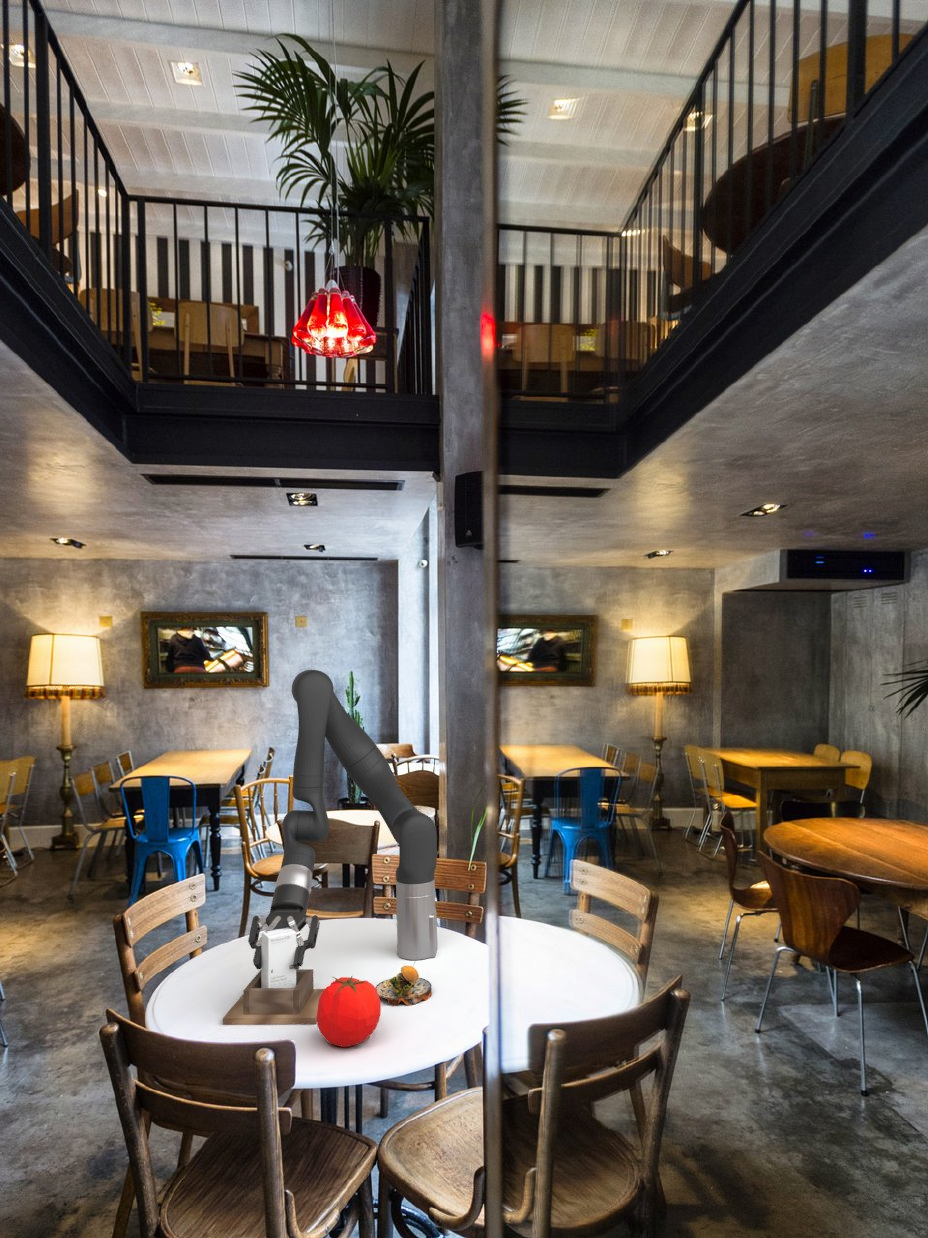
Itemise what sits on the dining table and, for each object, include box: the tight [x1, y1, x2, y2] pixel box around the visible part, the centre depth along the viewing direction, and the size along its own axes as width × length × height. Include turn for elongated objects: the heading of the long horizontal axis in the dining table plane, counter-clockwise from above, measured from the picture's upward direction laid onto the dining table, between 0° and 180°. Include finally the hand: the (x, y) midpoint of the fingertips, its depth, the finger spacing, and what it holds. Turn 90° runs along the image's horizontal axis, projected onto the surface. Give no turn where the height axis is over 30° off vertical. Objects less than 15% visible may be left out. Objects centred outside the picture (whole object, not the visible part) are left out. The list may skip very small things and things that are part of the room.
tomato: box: [316, 975, 382, 1048], centre depth 141 cm, size 12×12×11 cm
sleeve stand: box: [222, 968, 325, 1026], centre depth 156 cm, size 18×14×6 cm
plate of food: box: [375, 960, 433, 1007], centre depth 162 cm, size 12×12×8 cm
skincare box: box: [260, 928, 297, 988], centre depth 157 cm, size 6×4×12 cm
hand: (276, 967), depth 155 cm, fingers closed on skincare box, 7 cm apart
